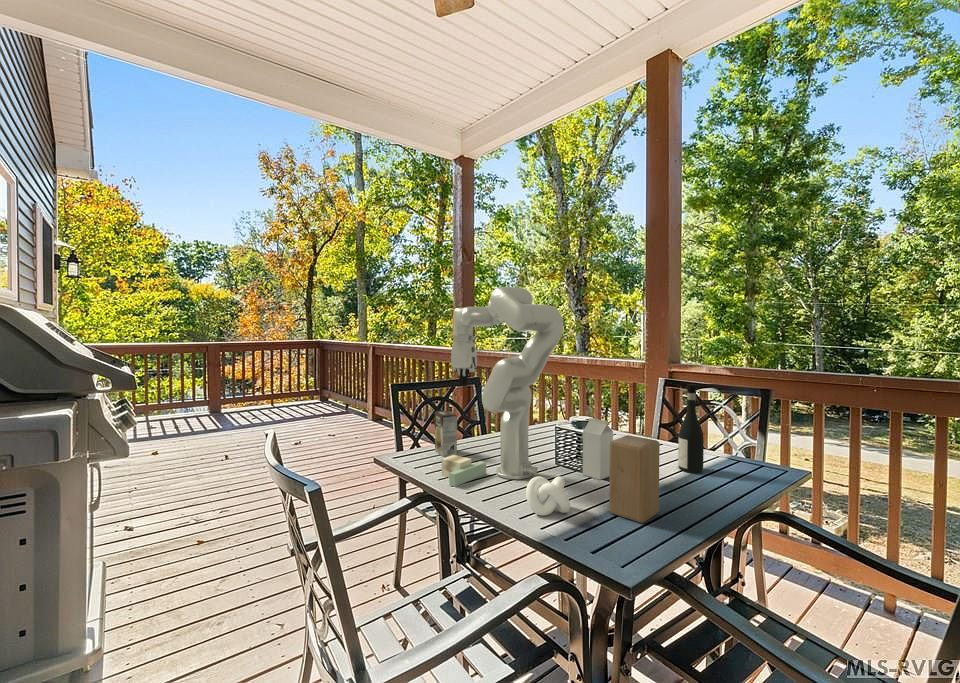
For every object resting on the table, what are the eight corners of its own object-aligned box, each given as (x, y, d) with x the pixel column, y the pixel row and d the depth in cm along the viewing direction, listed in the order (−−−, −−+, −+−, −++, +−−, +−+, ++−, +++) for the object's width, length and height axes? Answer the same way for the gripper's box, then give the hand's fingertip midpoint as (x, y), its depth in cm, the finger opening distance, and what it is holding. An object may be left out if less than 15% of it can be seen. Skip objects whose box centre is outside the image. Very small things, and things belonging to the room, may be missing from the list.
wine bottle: (680, 472, 157) (681, 385, 156) (676, 465, 165) (677, 382, 163) (705, 474, 155) (707, 386, 154) (700, 467, 163) (701, 383, 162)
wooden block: (607, 513, 124) (608, 440, 123) (625, 503, 131) (626, 433, 130) (643, 525, 117) (643, 447, 116) (660, 513, 124) (661, 440, 123)
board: (486, 473, 157) (486, 462, 157) (454, 486, 145) (454, 474, 145) (480, 472, 159) (480, 460, 158) (449, 485, 146) (449, 472, 146)
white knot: (533, 499, 134) (533, 469, 134) (575, 505, 130) (575, 474, 129) (523, 515, 123) (523, 482, 123) (567, 521, 119) (567, 487, 119)
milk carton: (600, 480, 150) (600, 422, 149) (582, 475, 155) (582, 419, 155) (613, 475, 154) (613, 419, 154) (595, 470, 160) (595, 416, 159)
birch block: (471, 476, 155) (471, 458, 155) (459, 481, 150) (459, 463, 150) (453, 471, 160) (453, 454, 160) (441, 476, 155) (441, 458, 155)
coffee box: (434, 451, 186) (434, 411, 185) (449, 449, 188) (448, 410, 188) (442, 456, 177) (441, 415, 177) (457, 454, 180) (457, 414, 179)
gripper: (484, 339, 178) (484, 386, 179) (455, 338, 187) (455, 383, 188) (472, 340, 172) (472, 388, 173) (442, 339, 181) (442, 385, 182)
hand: (463, 385), depth 181 cm, fingers closed
